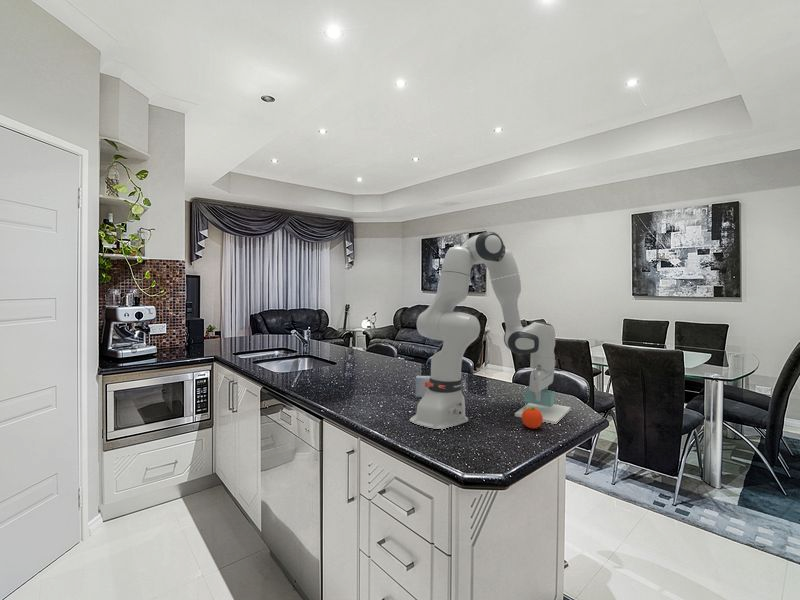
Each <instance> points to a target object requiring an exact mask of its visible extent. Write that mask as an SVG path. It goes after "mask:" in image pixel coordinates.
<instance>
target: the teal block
mask: <svg viewBox="0 0 800 600" xmlns="http://www.w3.org/2000/svg"><path fill="white" fill-rule="evenodd" d="M555 393H556V391H555V390H548V389H547V390H544V389H543V390H542V392H541V396H542V400H541V401H536V395H535V392H532V391H530V388H529V386H528V387H526V388H525V389H524V398H523V399H524V403H527V404H528V403H532V404H538V405H543V406H548V407H551V406H553V405H554V404H555V396H556V395H555Z"/></svg>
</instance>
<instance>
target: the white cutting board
mask: <svg viewBox="0 0 800 600" xmlns="http://www.w3.org/2000/svg"><path fill="white" fill-rule="evenodd" d="M526 407H532V408H536V409H537V410H539V411H540V412H541V414H542V417H543V421H542V423H544V422H546V423H545V424H548V423H551V424H550V425H553V424H557V423H558V422H559V421H560V420H561V419H562V418H563V417H564V416H565V415H566V414H567V415H568V413H570V411H571V406H566V405H560V404H555V403H554V405H553V406H551V407H548V406H543V405H538V404H532V403H527V404H526V405H524V406H523V407H521V408H520V409H519V410H517V411H516V412H514V418H515V417H517V418H521V419H522V413H523V411H524V408H525V409H527V408H526ZM567 415H566V416H567ZM566 416H565V417H566ZM565 417H564V418H565ZM564 418H563V419H564ZM563 419H562V420H563ZM562 420H561V421H562ZM561 421H560V422H561ZM560 422H559V423H560ZM559 423H558V424H559ZM558 424H557V425H558Z"/></svg>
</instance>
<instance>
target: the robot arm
mask: <svg viewBox="0 0 800 600" xmlns="http://www.w3.org/2000/svg"><path fill="white" fill-rule="evenodd" d="M480 264H481V265H482V264H483V265H484V266H486V268H487V270H488V273H489V280H490V284H491V286H492V290H493V292H494V294H495V297H496V299H497V301H498V303H499V305H500V307H501V311H502V315H503V319H504V324H505V330H504V334H503V335H504V336H503V343H504V345H505V346H506V347H507V348H508V349H509V350H510V351H511V352H512V353H514V354H515V355H528V354H529V355H530V366H529V367H530V368H532V370H531V372H530V375H529V385H528V387H529V388H530V391H532V392H535V395H536V401H541V400H542V396H541V392H542V390H543V389H544V390H548V389H549V388H548V387H549V386H550V385H552V384H553V383H554V377H555V367H556V366H557V360H556V358H555V357H556V355H555V347H556V329H555V327H554V326H553V325H552V324H551V323H548V322H544V321H534V322H532V323H530V324H529V325H527V326H525V327H523V325H522V322H521V316H520V312H519V307H518V306H519V305H518V300H519V298H520V294H521V291H522V288H521V287H522V285H521V284H522V283H521V275H520V271H519V269H518V265H517V262H516V260H515V257H514V254H513V253H512V252H511V251H510V250H509V249H507V248H506V246H505V244H504V241H503V239H502V237H501V236H500V235H499V234H498V233H497V232H494V231H484V232H481V233H479V234H476V235H473V236H471V237H469V238H468V239H466V240H464V241H462V243H461V244H460V245H459V246H458V245H455V246H452V247H450V248H449V249H447V250H446V253H445V256H444V259H443V261H442V265H441V270H440V275H439V282H438V287H437V291H436V293H435V296H434V297H433V300H432V301H431V303H430V305H429V306H427V308H426V309H425V310H423V311H422V312H421V313H420V314H419V315H418V317H417V320H416V329H417V330H416V331H418V334H419V335H420V336H422V337H425V338H427V339H430V340H436V341H443V343H442V344H443V345H442V347H441V350H438V351H437V352H435V353H434V354H433V355H432V357H431V359H430V361H431V362H430V376H431V377H430V379H429V382H428V381H425V383H424V386H425V387H428V390H427V392H426V393H425V394H424V396H423V397H421V399H420V400H419V402H418V403H417V405H416V413H415V415H413V416H411V418H409V420H408V421H410V422H412V423H414V424H417V425H420V426H424V427H428V428H433V429H441V430H440V431H444V430H443V429H445V430H447V429H446V428H448V429H450V428H449V427H451V428H453V426H454V427H456V426H459V425H462V424H464V423H467V422H469V418H468V416H466V403H465V402H466V400H465V396H464V395H463V392H462V389H463V381H462V380H463V379H462V365H463V357H464V355H465V352H466V350H467V348H468V347H469V346H470V345H471V344H472V343H473V342H475V341H476V340H477V339H478V337H479V335H480V332H481V324H480V321H479V319H478V318H477V316H475V315H472V314H471V313H466V312H461V311H460V312H459V311H454V310H455V308H456V306H457V305H459V304H460V303H463V301H465V300H466V298H467V297H468V295H469V294H468V292H469V285H470V281H471V280H470V279H471V272H472V268H473V267H474V266H477V265H480ZM410 422H409V423H410ZM412 423H411V424H412ZM414 424H413V425H414ZM417 425H416V426H417ZM420 426H419V427H420ZM428 428H427V429H428ZM433 429H432V430H433Z"/></svg>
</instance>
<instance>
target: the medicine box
mask: <svg viewBox="0 0 800 600" xmlns="http://www.w3.org/2000/svg"><path fill="white" fill-rule="evenodd" d="M430 377H431V375H416V376H415V396H414V397H415V398H422V397H423V396H424V394H425V393H426V392H427V390H428V387H425V386H424V383H425V381H428V382H429V379H430Z"/></svg>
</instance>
